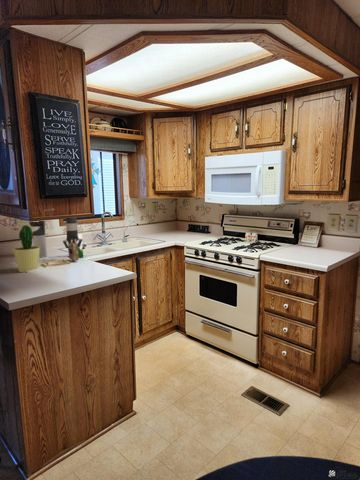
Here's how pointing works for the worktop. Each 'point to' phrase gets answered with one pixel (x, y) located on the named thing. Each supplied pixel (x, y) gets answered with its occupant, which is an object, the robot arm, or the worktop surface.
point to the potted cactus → (26, 251)
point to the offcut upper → (54, 262)
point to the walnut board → (74, 252)
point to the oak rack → (55, 264)
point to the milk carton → (80, 249)
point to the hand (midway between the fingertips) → (73, 253)
